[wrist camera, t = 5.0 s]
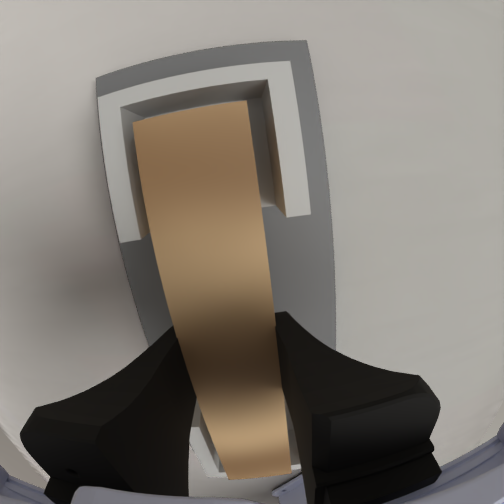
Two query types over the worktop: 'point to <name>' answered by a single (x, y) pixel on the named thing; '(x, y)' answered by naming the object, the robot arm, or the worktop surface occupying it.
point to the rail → (217, 277)
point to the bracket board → (268, 173)
